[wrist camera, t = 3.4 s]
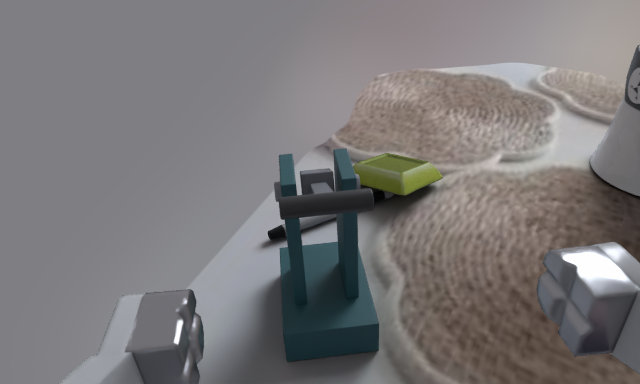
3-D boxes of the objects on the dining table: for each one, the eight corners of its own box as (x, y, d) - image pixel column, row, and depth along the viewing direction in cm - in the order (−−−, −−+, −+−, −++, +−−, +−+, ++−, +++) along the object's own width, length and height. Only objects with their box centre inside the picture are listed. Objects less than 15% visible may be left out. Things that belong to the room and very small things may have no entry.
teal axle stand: (378, 351, 35) (381, 199, 28) (287, 362, 35) (265, 211, 27) (356, 264, 43) (354, 131, 36) (283, 272, 43) (265, 139, 36)
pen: (266, 234, 48) (266, 227, 47) (395, 188, 54) (397, 180, 53) (271, 244, 47) (272, 237, 46) (401, 196, 53) (404, 188, 52)
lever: (375, 222, 24) (372, 178, 24) (282, 232, 24) (277, 187, 24) (351, 198, 34) (348, 166, 34) (284, 205, 34) (280, 172, 34)
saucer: (383, 149, 59) (383, 164, 60) (340, 162, 53) (340, 180, 54) (445, 160, 54) (444, 177, 54) (405, 177, 48) (404, 196, 48)
